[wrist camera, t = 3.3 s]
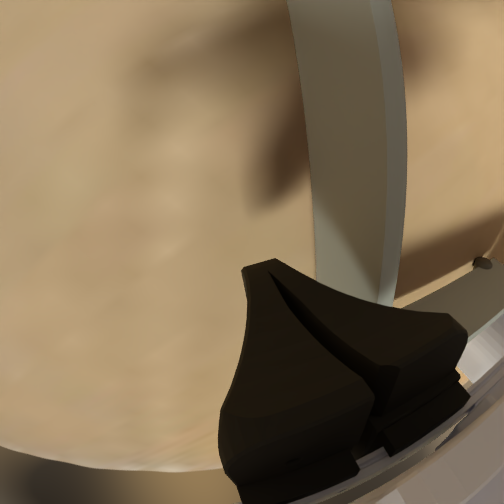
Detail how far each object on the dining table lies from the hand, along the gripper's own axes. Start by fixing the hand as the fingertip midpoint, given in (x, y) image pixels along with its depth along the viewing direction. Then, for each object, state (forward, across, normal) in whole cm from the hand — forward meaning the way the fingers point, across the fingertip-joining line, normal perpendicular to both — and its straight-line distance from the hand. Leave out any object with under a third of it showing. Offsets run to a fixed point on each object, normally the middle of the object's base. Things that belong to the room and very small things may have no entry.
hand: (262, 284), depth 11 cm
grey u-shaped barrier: (+3, -14, -5) cm, 15 cm away
